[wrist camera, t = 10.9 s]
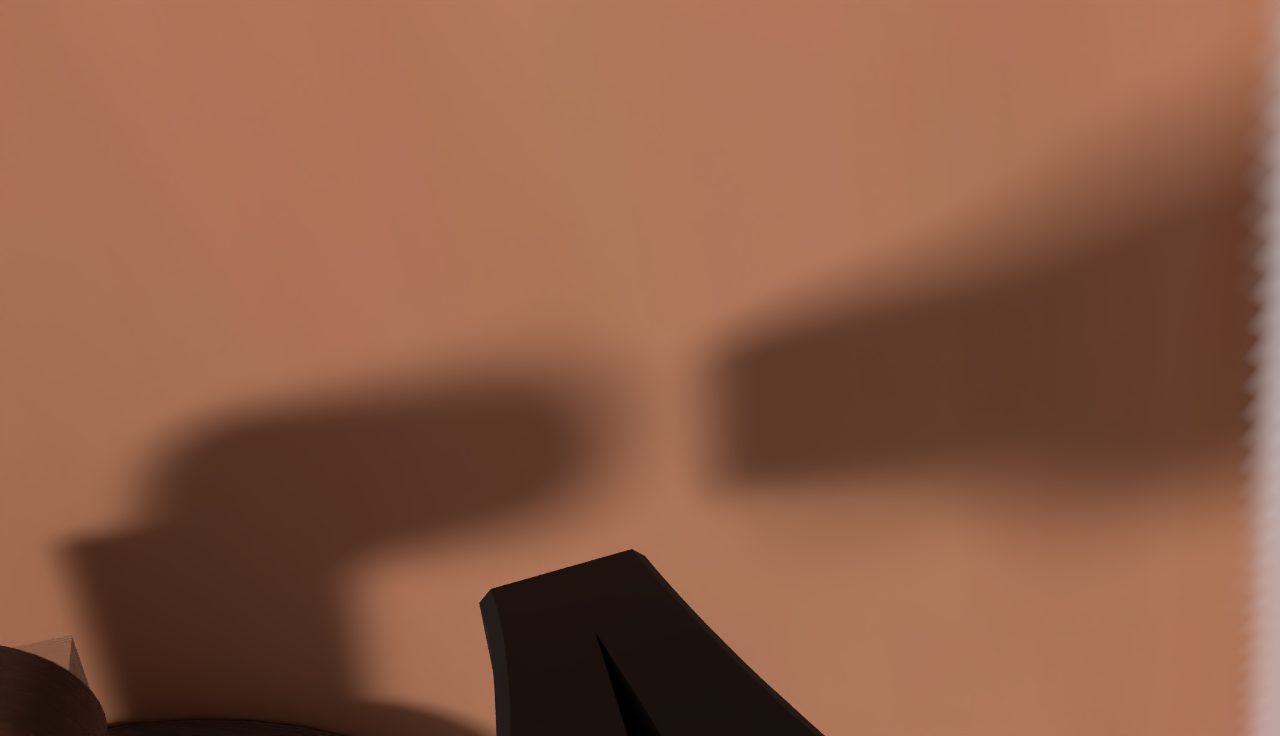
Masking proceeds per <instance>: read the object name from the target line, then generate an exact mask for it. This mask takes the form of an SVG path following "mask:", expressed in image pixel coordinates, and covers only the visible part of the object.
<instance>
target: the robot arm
mask: <svg viewBox="0 0 1280 736" xmlns="http://www.w3.org/2000/svg"><path fill="white" fill-rule="evenodd" d="M479 604H480V609H481V614H482V619H483V624H484V629H485V634H486V639H487V644H488V649H489V654H490V659H491V664H492V669H493V676H494V688H495V709H496V734H497V736H824V735H823V734H822V733H821V732H820V731H819V730H818V729H817V728H815V727H814V726H813V725H812V724H811V723H810V722H809V721H808V720H807V719H805V718H804V717H803V716H802V715H801V714H800V713H799V712H798V711H797V710H796V709H794V708H793V707H792V706H791V705H790V704H789V703H788V702H787V701H786V700H785V699H783V698H782V697H781V696H780V695H779V694H778V693H777V692H776V691H775V690H774V689H772V688H771V687H770V686H769V685H768V684H767V683H766V682H765V681H764V680H763V679H761V678H760V677H759V676H758V675H757V674H756V673H755V672H754V671H753V670H752V669H751V668H750V667H749V666H748V665H747V664H746V663H745V662H744V661H743V660H742V659H741V658H740V657H739V656H738V655H737V654H736V653H735V652H734V651H733V650H732V649H731V648H730V647H729V646H728V645H727V644H726V643H725V642H724V641H723V640H722V639H721V638H720V637H719V636H718V635H717V634H716V633H715V632H714V631H713V630H712V629H711V628H710V627H709V626H708V625H707V624H706V623H705V622H704V621H703V620H702V619H701V618H700V617H699V616H698V615H697V614H696V613H695V612H694V611H693V610H692V609H691V608H690V606H689V605H688V604H687V603H686V602H685V601H684V600H683V599H682V598H681V597H680V596H679V595H678V593H677V592H676V591H675V590H674V589H673V588H672V587H671V586H670V585H669V583H668V582H667V581H666V580H665V579H664V578H663V577H662V576H661V574H660V573H659V572H658V571H657V570H656V569H655V567H654V566H653V565H652V564H651V563H650V561H649V560H648V559H647V558H646V557H645V556H644V555H642V554H640V553H638V552H636V551H635V550H633V549H631V550H627V551H624V552H620V553H617V554H613V555H609V556H606V557H602V558H599V559H595V560H592V561H588V562H585V563H581V564H578V565H574V566H571V567H567V568H563V569H560V570H556V571H553V572H549V573H546V574H542V575H539V576H535V577H532V578H528V579H525V580H521V581H518V582H514V583H510V584H507V585H503V586H500V587H496V588H493V589H491V590H490V591H489V592H488V593H487V594H486V596H485V597H484V598H483V599H482V600H481V602H480V603H479Z"/></svg>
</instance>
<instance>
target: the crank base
mask: <svg viewBox="0 0 1280 736" xmlns="http://www.w3.org/2000/svg"><path fill="white" fill-rule="evenodd" d="M108 736H342V735H337V734H333V733H328V732H324V731H319V730H315V729H310V728H306V727H300V726H291V725H282V724H274V723H265V722H256V721H229V720H186V721H172V722H157V723H143V724H133V725H127V726H120V727H114V728H108Z"/></svg>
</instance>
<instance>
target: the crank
mask: <svg viewBox="0 0 1280 736" xmlns="http://www.w3.org/2000/svg"><path fill="white" fill-rule="evenodd" d="M0 736H108V726H107V721H106V717H105V713H104V711H103V709H102V707H101V705H100V702H99V701H98V699H97V698H96V697H95V695H94V694H93V692H92V691H91V690H90V687H89V684H88V681H87V679H86V676H85V673H84V670H83V667H82V664H81V661H80V658H79V655H78V652H77V649H76V646H75V643H74V640H73V637H72V636H67V637H62V638H57V639H53V640H48V641H43V642H38V643H33V644H28V645H24V646H19V647H14V648H10V647H5V646H0Z"/></svg>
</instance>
